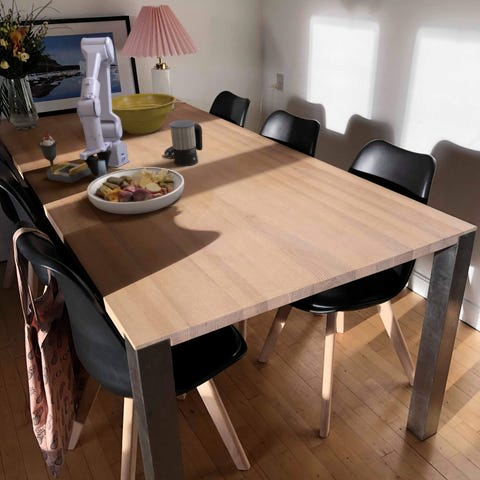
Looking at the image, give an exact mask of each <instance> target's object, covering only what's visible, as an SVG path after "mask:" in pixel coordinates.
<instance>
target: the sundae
mask: <svg viewBox="0 0 480 480" xmlns="http://www.w3.org/2000/svg"><path fill="white" fill-rule="evenodd" d="M48 132H49V130H46V133H45V135H43V136H42V139H41V141H40V142H38V143H37V146H38V147H39V148H40V150H41V151H42V154H43V157H44V159H46V161H49V165H50V167H52V166H54V165H55V163H54V162H55V161H54V160H55V159H56V157H57V147H56V146H57V145H58V144H57V143H58V141H56V140H54V139H53V137H52V136H50V134H49V133H48ZM50 167H49V168H47V169H46V173H47V172H49V171H51V168H50Z"/></svg>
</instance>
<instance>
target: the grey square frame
mask: <svg viewBox="0 0 480 480" xmlns="http://www.w3.org/2000/svg"><path fill="white" fill-rule="evenodd" d="M49 168H51V171H49V172H47V171H46V175H47V179H48V180H50V181H57V182H63V183H69V184H73V183H74V184H75V182H77V181H80V180H81V179H83V178H86V177H87V176H89V175H92V173H91V170H90V168H89V167H88V165H87V164H86V163H85V162H83V163H81V164H79V163H71V162H70V160H67V159H66V160H63V161H61V162H59V163H57V164H54V166H52V167H51V166H50V167H49Z"/></svg>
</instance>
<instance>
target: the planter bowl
mask: <svg viewBox="0 0 480 480" xmlns="http://www.w3.org/2000/svg"><path fill="white" fill-rule="evenodd" d="M111 100H112V112H113V113H114V114H115V115H117V116H118V117H119V118H120V120H121V126H122V130H123V131H125V132H127V133H128V134H131V135H144V134H145V135H146V134H150V133H151V134H152V133H155V132H157V131H159V129H161V128H162V126H163V125H164V122H165V120H166V117H167V115H168V113H170V112H171V111H172V109H173V107H174V104H175V103H174V102H176V100H177V98H176V97H175V96H173V95H170V94H167V93H166V94H165V93H158V92H157V93H155V92H153V93H152V92H150V93H148V92H147V93H135V94H128V95H127V94H126V95H120V96H116V97H111Z"/></svg>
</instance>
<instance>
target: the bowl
mask: <svg viewBox="0 0 480 480" xmlns="http://www.w3.org/2000/svg"><path fill="white" fill-rule="evenodd" d="M184 188H185V178H184V177H183V175H182V174H180V173H179V172H178V171H175V170H174V169H173V170H171V169H168V168H164V167H163V168H162V167H155V166H154V167H151V166H149V167H148V166H147V167H144V166H143V167H133V168H132V167H131V168H127V169H126V168H125V169H121V170H116V171H113V172H109V173H107V174H106V175H104V176H101V177H99V178H97V179H94V180H92V181H91V182H90V183H89V185H88V186H87V189H86V193H87V197H88V200H89V201H90V203H91V204H93V206H94V207H96V208H98V209H99V210H101V211H103V212H107V213H110V214H116V215H137V214H144V213H149V212H154V211H157V210H160V209H164V208H166V207H168V206H170V205H171V204H173V203H174V202H175V201H177V200H178V199H179V198H180V196H181V195H182V194H183V193H184V192H183V191H184Z"/></svg>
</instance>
